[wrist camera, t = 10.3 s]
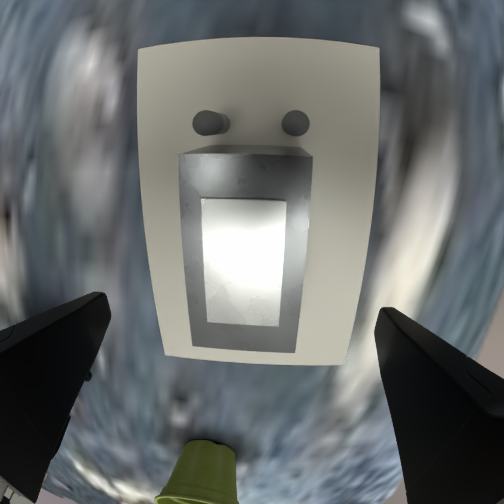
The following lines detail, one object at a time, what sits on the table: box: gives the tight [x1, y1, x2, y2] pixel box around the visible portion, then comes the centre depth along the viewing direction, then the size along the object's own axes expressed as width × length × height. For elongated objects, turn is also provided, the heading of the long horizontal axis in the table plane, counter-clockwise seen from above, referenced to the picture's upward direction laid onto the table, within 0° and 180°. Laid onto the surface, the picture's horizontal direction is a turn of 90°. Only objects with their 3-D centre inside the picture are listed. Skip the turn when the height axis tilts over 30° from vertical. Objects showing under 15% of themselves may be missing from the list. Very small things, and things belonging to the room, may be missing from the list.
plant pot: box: [154, 440, 239, 504], centre depth 26 cm, size 9×9×9 cm
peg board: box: [137, 37, 380, 365], centre depth 17 cm, size 22×14×4 cm, turn 0°
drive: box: [178, 145, 313, 353], centre depth 15 cm, size 9×5×6 cm, turn 179°
